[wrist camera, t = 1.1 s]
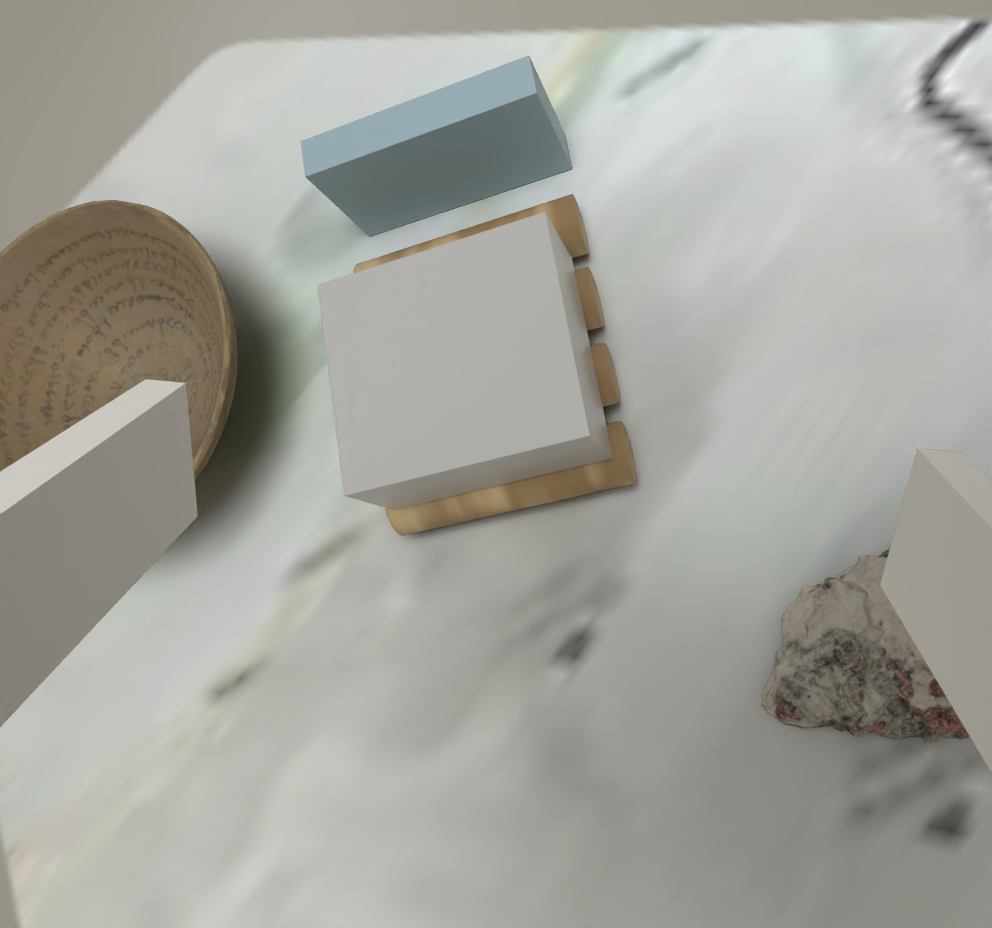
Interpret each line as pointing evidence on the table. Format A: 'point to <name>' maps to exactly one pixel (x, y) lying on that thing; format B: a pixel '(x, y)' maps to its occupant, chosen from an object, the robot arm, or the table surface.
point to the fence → (440, 149)
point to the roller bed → (622, 464)
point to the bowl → (110, 323)
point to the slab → (462, 368)
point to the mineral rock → (855, 664)
